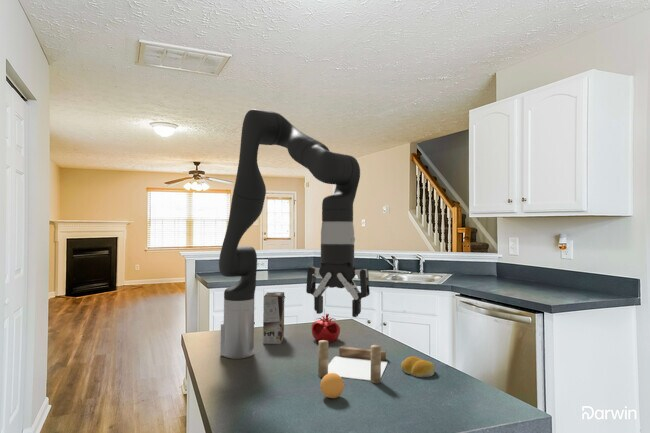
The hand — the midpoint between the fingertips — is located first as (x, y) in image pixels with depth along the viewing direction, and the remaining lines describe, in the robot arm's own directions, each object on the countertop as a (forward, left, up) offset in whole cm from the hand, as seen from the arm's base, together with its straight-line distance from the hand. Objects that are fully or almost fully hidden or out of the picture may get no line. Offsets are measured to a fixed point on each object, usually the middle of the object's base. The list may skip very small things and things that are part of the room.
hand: (337, 314), depth 93 cm
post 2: (+6, +17, -20) cm, 27 cm away
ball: (-2, +4, -17) cm, 18 cm away
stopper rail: (-1, +35, -20) cm, 41 cm away
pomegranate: (-17, +50, -21) cm, 57 cm away
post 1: (-8, +17, -20) cm, 28 cm away
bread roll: (+16, +28, -21) cm, 38 cm away
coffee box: (-34, +44, -20) cm, 60 cm away
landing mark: (-1, +25, -20) cm, 32 cm away
